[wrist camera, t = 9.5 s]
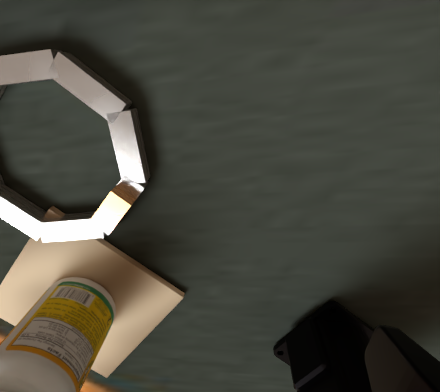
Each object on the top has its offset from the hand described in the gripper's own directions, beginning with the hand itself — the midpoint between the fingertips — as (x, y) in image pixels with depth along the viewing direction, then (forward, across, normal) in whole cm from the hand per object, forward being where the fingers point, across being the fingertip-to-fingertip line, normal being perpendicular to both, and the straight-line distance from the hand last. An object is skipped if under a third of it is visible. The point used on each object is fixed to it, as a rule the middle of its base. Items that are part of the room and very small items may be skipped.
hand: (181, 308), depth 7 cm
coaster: (+13, +8, +12) cm, 20 cm away
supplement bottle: (+13, +8, +12) cm, 20 cm away
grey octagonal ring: (+13, +10, +1) cm, 16 cm away
